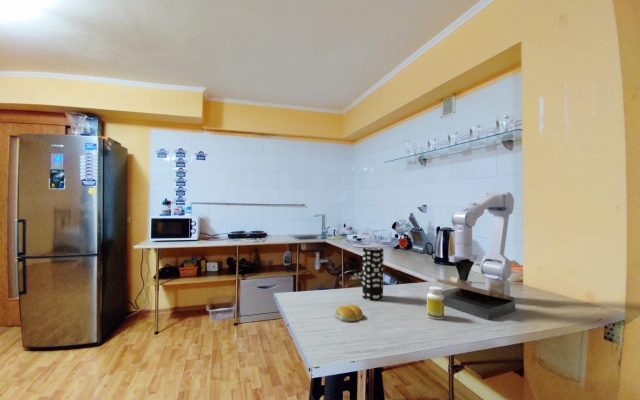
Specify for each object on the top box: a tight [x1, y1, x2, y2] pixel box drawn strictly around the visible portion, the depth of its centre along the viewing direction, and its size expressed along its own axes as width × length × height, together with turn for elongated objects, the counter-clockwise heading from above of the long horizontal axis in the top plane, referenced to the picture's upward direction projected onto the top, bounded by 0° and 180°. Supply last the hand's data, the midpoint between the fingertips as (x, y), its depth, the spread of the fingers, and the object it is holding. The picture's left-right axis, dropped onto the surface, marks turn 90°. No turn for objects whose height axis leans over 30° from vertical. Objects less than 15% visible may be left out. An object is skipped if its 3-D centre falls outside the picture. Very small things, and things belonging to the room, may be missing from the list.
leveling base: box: [441, 287, 516, 321], centre depth 106 cm, size 18×21×4 cm
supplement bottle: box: [426, 285, 445, 320], centre depth 95 cm, size 5×5×10 cm
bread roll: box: [334, 304, 363, 322], centre depth 94 cm, size 8×9×4 cm
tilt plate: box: [437, 276, 515, 301], centre depth 107 cm, size 17×20×5 cm
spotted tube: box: [361, 247, 384, 302], centre depth 115 cm, size 8×8×20 cm
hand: (463, 280), depth 103 cm, fingers closed
